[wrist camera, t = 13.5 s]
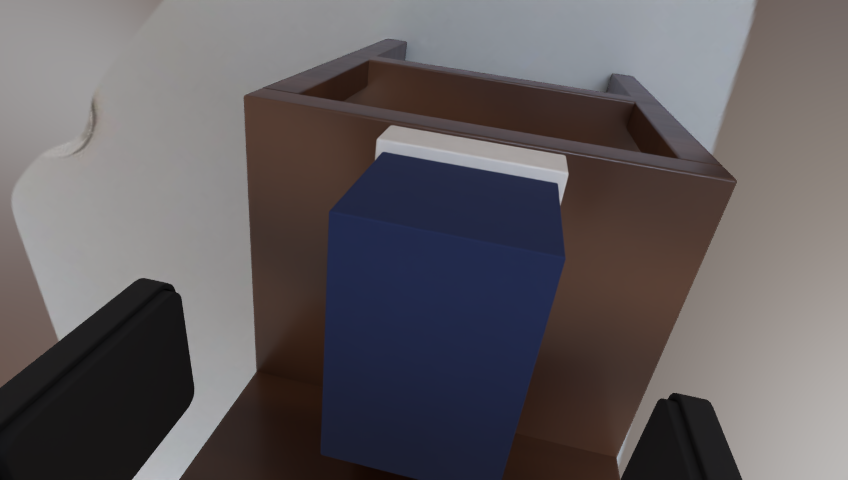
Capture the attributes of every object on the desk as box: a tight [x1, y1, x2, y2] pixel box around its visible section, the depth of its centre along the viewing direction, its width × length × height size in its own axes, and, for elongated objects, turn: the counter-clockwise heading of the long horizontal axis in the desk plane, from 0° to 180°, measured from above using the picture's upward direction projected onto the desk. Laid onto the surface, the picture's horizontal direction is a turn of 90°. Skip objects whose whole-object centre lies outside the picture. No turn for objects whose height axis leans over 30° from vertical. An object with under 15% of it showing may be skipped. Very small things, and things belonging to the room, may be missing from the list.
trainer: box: [321, 125, 569, 480], centre depth 14 cm, size 10×5×6 cm, turn 173°
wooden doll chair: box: [179, 39, 737, 480], centre depth 22 cm, size 12×14×22 cm
